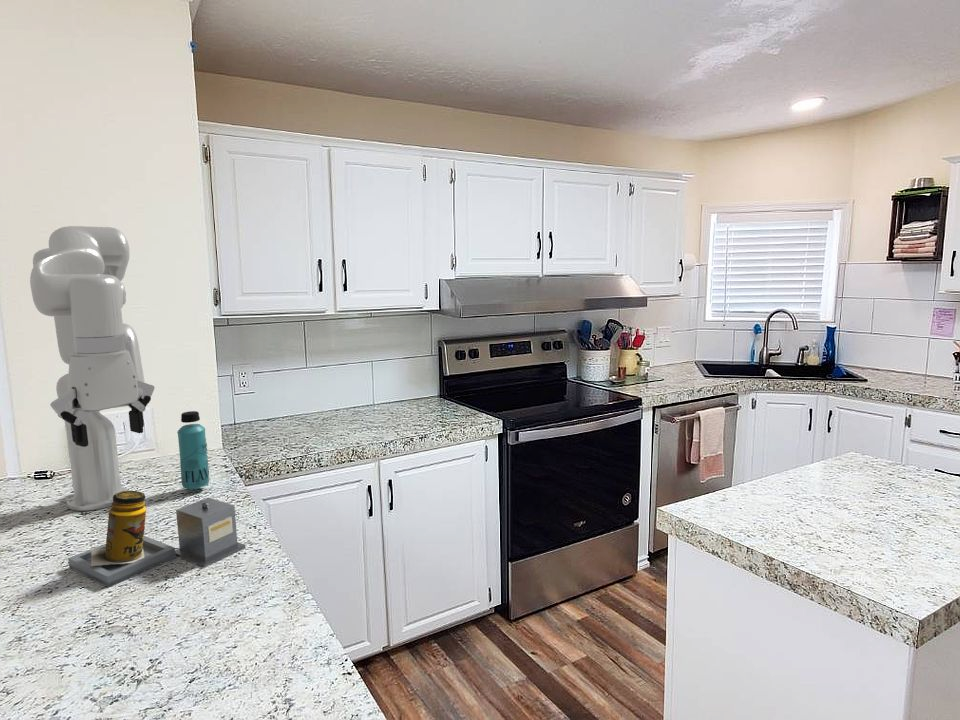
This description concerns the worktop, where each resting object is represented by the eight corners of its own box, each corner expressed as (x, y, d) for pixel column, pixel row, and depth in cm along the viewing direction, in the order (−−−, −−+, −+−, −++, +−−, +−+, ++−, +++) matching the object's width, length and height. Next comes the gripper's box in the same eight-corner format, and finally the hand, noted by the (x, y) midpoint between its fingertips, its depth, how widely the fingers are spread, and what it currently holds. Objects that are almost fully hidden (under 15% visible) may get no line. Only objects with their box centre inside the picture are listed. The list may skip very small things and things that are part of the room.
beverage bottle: (182, 496, 144) (175, 416, 141) (181, 487, 150) (174, 410, 147) (211, 492, 147) (205, 413, 144) (209, 483, 153) (203, 407, 150)
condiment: (145, 561, 110) (151, 499, 110) (91, 567, 106) (96, 501, 105) (142, 546, 117) (148, 487, 116) (91, 551, 112) (96, 489, 111)
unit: (172, 554, 115) (167, 506, 113) (213, 536, 123) (209, 491, 121) (204, 567, 110) (200, 517, 108) (245, 547, 117) (241, 500, 116)
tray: (69, 568, 110) (68, 558, 110) (136, 541, 120) (135, 532, 120) (108, 587, 103) (107, 576, 103) (175, 557, 114) (174, 547, 113)
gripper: (137, 339, 115) (145, 424, 118) (34, 350, 100) (46, 448, 103) (159, 341, 111) (167, 430, 114) (56, 353, 96) (68, 454, 99)
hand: (110, 438), depth 108 cm, fingers open, 9 cm apart
